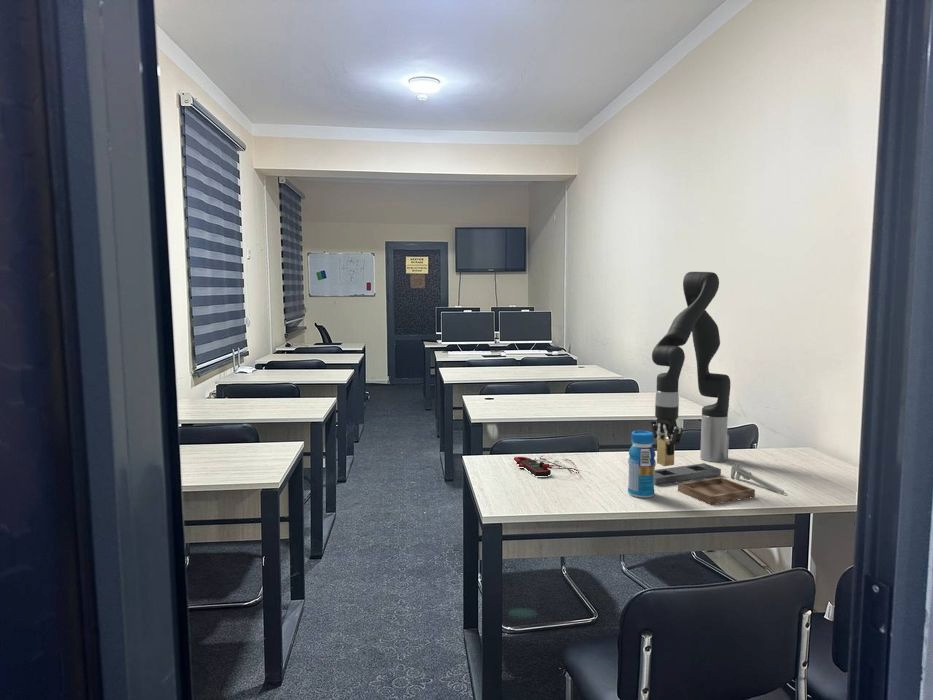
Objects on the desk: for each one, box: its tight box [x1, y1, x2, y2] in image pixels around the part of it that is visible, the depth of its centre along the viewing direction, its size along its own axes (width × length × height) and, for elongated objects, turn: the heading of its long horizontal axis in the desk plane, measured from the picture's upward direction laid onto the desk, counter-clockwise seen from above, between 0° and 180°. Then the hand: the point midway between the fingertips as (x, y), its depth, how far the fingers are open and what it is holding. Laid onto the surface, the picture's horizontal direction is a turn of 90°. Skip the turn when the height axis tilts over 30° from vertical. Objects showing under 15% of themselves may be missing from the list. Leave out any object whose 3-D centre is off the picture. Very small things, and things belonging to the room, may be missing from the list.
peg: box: [656, 437, 676, 467], centre depth 206 cm, size 4×4×8 cm
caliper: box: [730, 461, 787, 495], centre depth 199 cm, size 20×1×6 cm, turn 28°
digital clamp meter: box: [513, 455, 580, 477], centre depth 220 cm, size 23×4×25 cm
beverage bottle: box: [627, 430, 657, 499], centre depth 191 cm, size 8×8×20 cm
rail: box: [654, 462, 722, 487], centre depth 209 cm, size 28×8×2 cm, turn 112°
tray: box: [677, 476, 756, 505], centre depth 191 cm, size 18×14×2 cm
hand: (665, 453), depth 206 cm, fingers closed on peg, 4 cm apart
